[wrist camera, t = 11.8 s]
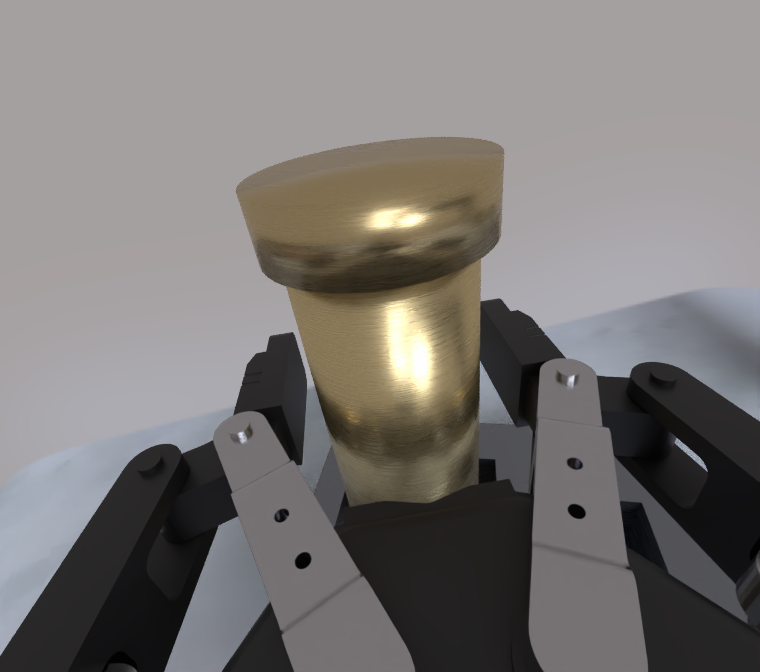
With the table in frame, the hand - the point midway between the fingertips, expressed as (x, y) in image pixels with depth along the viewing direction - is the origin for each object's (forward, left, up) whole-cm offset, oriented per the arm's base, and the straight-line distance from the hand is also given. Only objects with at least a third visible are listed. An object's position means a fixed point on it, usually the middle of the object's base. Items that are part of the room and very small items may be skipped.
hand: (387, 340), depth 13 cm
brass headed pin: (-1, +2, -9) cm, 9 cm away
